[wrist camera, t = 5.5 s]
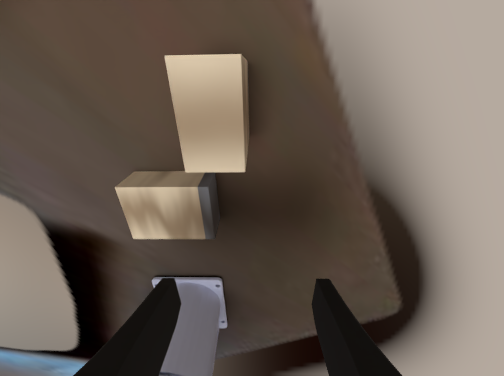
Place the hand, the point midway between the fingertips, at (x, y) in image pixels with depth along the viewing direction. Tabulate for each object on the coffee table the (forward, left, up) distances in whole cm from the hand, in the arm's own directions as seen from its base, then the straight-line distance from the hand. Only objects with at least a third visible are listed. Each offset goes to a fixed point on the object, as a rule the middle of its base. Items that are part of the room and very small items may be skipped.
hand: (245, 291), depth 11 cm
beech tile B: (+8, +1, -10) cm, 13 cm away
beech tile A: (0, +3, -8) cm, 9 cm away
